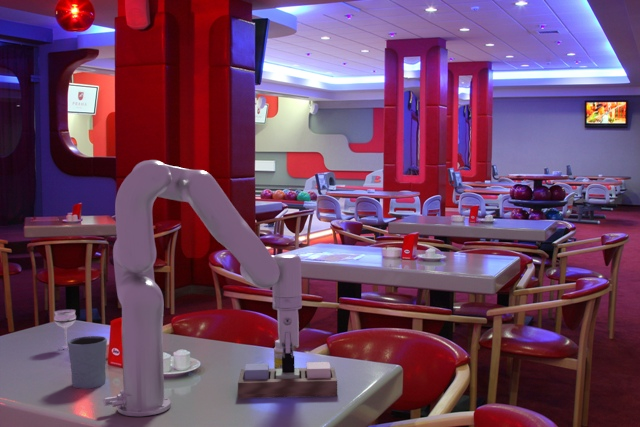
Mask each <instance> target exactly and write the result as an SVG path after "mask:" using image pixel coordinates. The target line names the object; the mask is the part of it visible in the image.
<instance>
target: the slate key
mask: <svg viewBox="0 0 640 427" xmlns="http://www.w3.org/2000/svg"><path fill="white" fill-rule="evenodd" d="M244 369H245V370H244V371H245V380H253V379H269V369H270V364H269V363H268V362H267V363H264V362H262V363H245V368H244Z"/></svg>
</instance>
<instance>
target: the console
mask: <svg viewBox="0 0 640 427" xmlns="http://www.w3.org/2000/svg"><path fill="white" fill-rule="evenodd" d="M294 368H295V369H298V368H299V379H276V369H274V368H269V379H253V380H245V371H244V370H245V368H243V369H242V368H241V369H240V373H239V376H238V381H237V398H238V399H257V398H258V399H268V398H269V399H272V398H316V397H315V396H323V397H338V378H337V374H336V369H335V367H334V366H333V367H331V366H330V368H331V378H307V367H294ZM279 369H282V368H279Z"/></svg>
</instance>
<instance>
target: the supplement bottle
mask: <svg viewBox="0 0 640 427" xmlns="http://www.w3.org/2000/svg"><path fill="white" fill-rule="evenodd" d="M274 346H275V347H274V348H273V355H274V356H273V365H274V366H273V367H274V368H273V369H279V368H282V356H283V347H282V348H281V347H280V343H279V339H276V340H275V341H274Z"/></svg>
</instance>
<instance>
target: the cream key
mask: <svg viewBox="0 0 640 427" xmlns="http://www.w3.org/2000/svg"><path fill="white" fill-rule="evenodd" d="M330 367H331V365H330V362H329V361H323V362H321V361H320V362H319V361H318V362H314V361H313V362H306V368H307V378H331V368H330Z"/></svg>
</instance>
